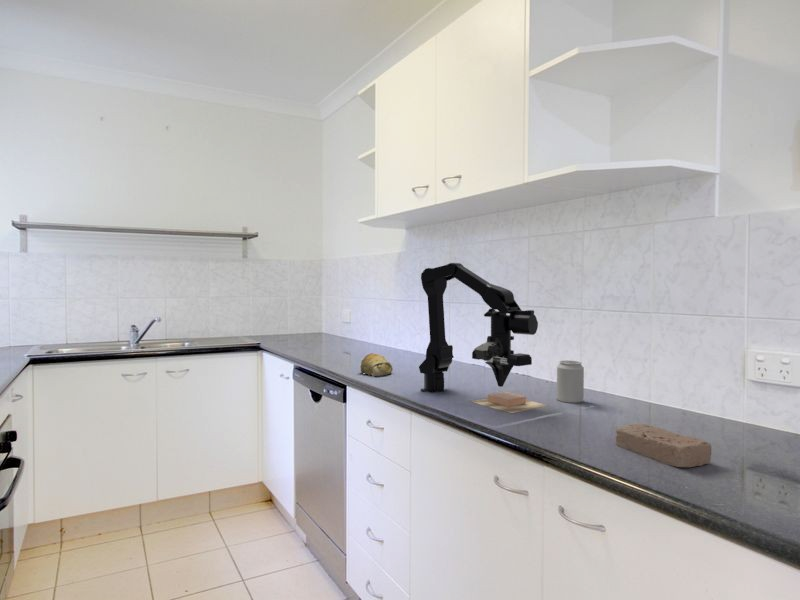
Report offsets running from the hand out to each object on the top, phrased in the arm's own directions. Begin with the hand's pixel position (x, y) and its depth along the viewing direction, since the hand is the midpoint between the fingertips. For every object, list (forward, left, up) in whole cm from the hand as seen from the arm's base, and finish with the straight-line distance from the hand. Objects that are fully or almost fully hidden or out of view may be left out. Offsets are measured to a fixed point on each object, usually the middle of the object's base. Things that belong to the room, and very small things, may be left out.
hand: (500, 386), depth 145 cm
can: (+10, +18, -5) cm, 21 cm away
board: (+3, 0, -5) cm, 6 cm away
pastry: (-62, -5, -5) cm, 62 cm away
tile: (-2, 0, -3) cm, 3 cm away
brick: (+49, -5, -6) cm, 50 cm away
